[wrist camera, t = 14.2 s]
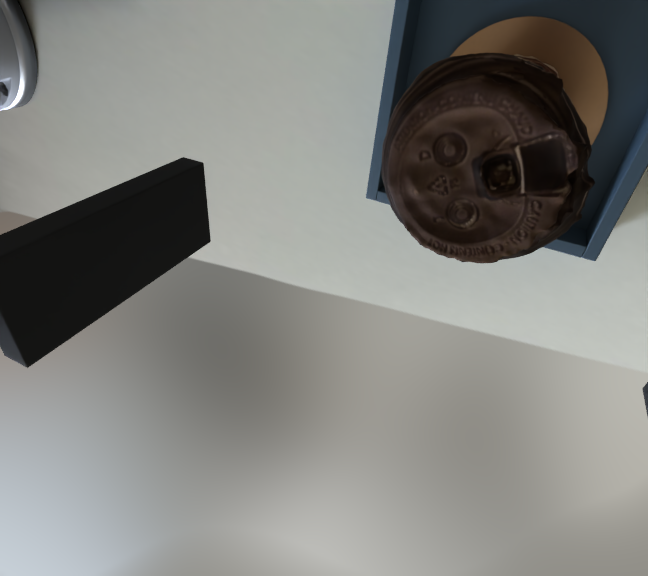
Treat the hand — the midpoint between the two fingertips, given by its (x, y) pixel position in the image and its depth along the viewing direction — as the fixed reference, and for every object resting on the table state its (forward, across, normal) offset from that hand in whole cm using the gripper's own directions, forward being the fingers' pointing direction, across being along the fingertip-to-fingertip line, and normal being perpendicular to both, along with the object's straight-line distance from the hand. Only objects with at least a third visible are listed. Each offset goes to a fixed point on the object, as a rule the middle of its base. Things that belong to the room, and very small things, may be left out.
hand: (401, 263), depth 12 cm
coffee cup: (+20, +1, 0) cm, 20 cm away
